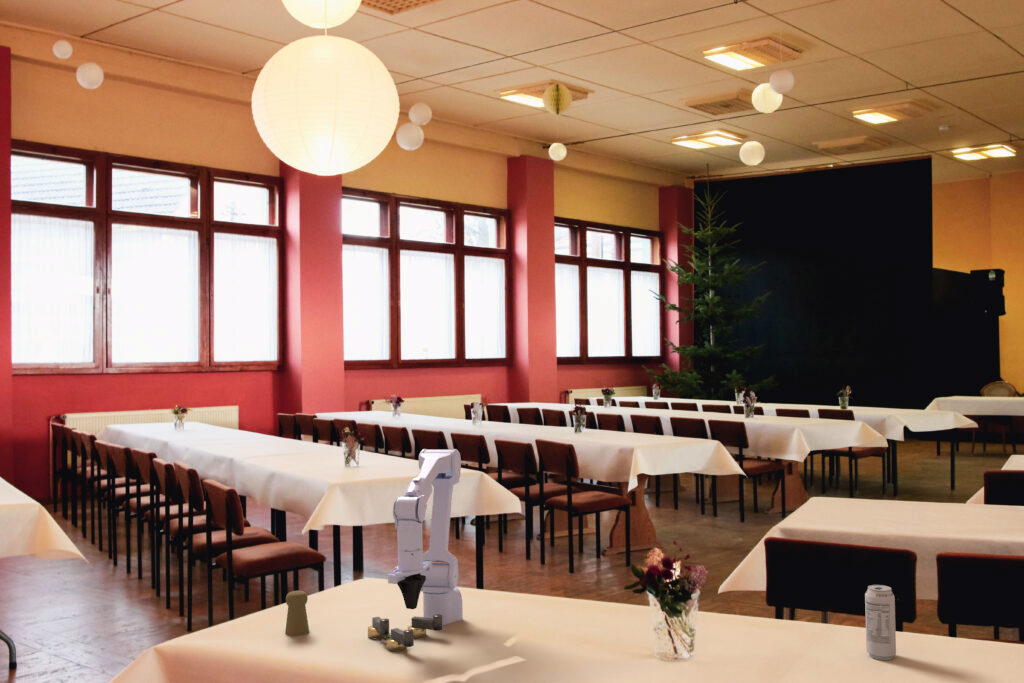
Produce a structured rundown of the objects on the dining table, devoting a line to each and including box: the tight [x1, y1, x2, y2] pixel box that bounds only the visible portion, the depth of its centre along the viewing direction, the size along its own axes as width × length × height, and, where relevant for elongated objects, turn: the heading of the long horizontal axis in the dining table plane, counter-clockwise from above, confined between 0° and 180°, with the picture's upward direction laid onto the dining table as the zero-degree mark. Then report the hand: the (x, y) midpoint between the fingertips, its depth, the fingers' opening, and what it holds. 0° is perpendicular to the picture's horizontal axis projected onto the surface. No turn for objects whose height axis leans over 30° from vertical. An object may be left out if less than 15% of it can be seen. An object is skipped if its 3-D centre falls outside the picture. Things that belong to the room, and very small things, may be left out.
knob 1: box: [367, 616, 390, 639], centre depth 214 cm, size 9×4×5 cm, turn 27°
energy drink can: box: [864, 584, 897, 661], centre depth 198 cm, size 6×6×15 cm
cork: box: [284, 590, 310, 637], centre depth 220 cm, size 6×6×11 cm
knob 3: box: [407, 614, 443, 639], centre depth 214 cm, size 9×4×5 cm, turn 67°
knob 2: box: [386, 627, 415, 652], centre depth 204 cm, size 9×4×5 cm, turn 37°
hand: (411, 608), depth 207 cm, fingers closed
